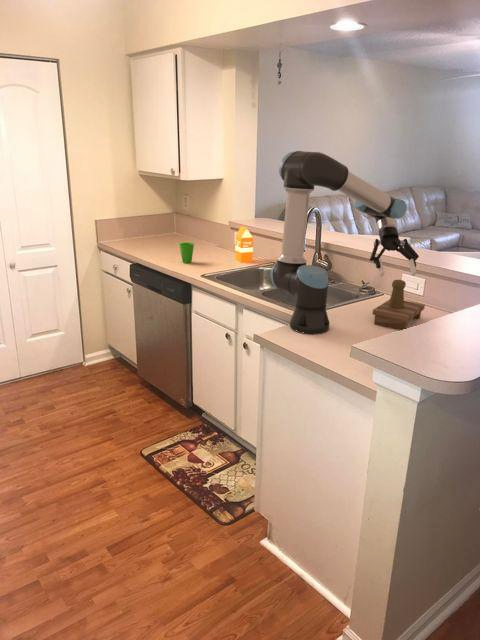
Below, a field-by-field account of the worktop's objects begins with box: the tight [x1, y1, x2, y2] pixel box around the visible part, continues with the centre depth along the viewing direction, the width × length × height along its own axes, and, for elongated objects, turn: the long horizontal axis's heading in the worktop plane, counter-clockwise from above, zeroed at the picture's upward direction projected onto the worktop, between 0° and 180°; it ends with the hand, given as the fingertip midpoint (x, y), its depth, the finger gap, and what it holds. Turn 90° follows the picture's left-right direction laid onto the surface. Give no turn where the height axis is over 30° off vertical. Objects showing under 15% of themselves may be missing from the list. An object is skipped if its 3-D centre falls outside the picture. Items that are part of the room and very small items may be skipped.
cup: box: [178, 242, 195, 264], centre depth 299 cm, size 9×9×11 cm
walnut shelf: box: [372, 298, 426, 331], centre depth 207 cm, size 20×14×6 cm
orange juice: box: [235, 225, 254, 264], centre depth 304 cm, size 8×9×20 cm
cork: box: [389, 279, 407, 309], centre depth 204 cm, size 6×6×11 cm
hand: (398, 274), depth 208 cm, fingers open, 13 cm apart
